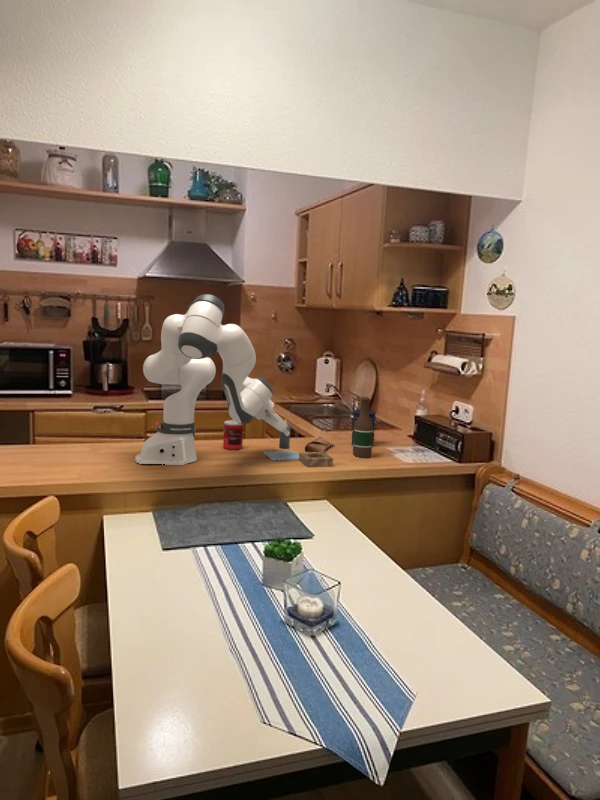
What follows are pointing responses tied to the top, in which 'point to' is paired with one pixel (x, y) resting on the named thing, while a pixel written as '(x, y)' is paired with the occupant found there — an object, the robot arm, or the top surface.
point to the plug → (285, 438)
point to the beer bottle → (363, 432)
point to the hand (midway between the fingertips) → (286, 433)
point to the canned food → (233, 435)
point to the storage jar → (356, 416)
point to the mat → (282, 455)
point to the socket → (315, 459)
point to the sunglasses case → (318, 445)
